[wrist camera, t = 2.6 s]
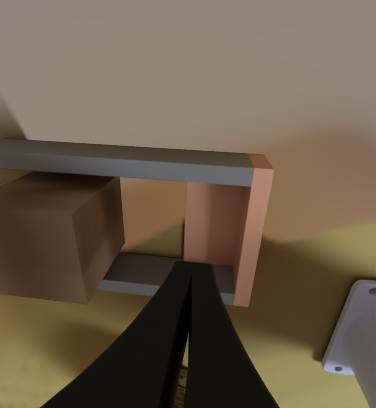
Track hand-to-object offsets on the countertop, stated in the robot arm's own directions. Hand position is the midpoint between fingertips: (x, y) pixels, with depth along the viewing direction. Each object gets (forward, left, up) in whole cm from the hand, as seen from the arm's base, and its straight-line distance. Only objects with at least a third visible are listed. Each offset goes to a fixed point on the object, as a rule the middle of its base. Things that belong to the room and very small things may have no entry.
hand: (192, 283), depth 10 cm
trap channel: (+4, 0, -5) cm, 7 cm away
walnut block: (+7, 0, -6) cm, 9 cm away
